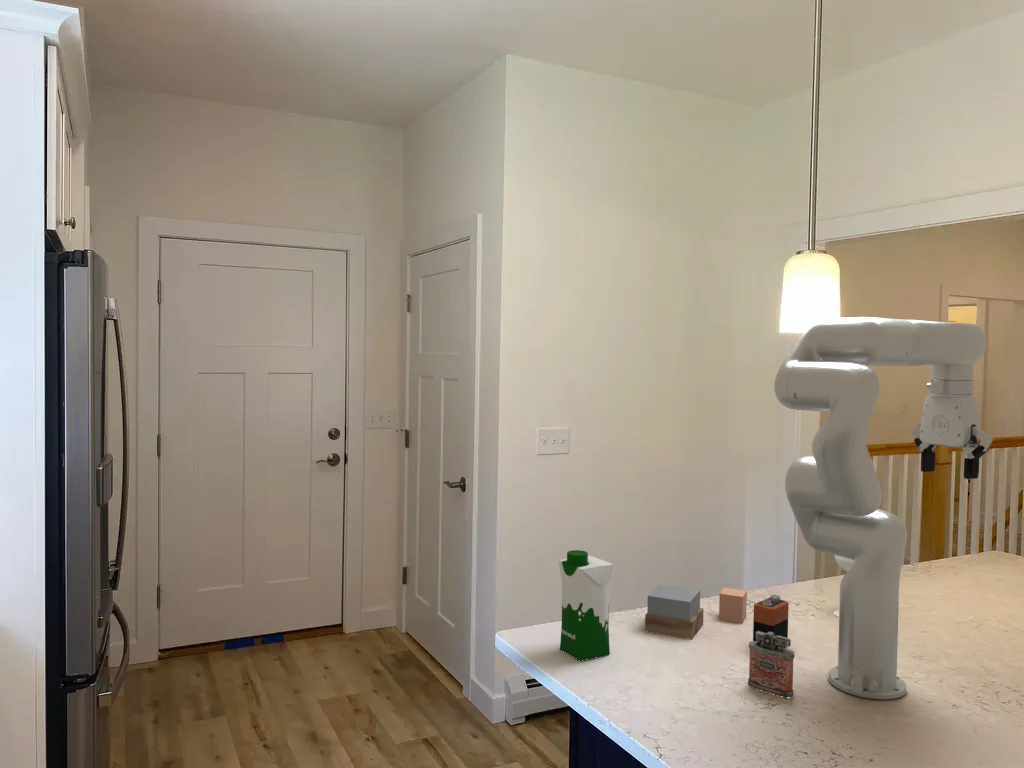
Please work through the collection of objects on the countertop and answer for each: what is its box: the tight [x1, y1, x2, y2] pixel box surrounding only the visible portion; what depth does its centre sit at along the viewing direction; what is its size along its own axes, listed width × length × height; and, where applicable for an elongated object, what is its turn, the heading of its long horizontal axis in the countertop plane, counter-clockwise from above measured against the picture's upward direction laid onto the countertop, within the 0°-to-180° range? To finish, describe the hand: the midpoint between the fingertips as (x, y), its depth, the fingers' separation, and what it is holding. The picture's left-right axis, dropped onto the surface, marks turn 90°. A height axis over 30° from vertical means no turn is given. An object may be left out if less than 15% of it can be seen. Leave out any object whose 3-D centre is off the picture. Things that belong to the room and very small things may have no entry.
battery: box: [752, 594, 790, 648], centre depth 157 cm, size 4×7×10 cm, turn 134°
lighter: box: [747, 631, 796, 698], centre depth 137 cm, size 8×3×10 cm, turn 47°
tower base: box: [644, 607, 704, 640], centre depth 168 cm, size 10×10×4 cm
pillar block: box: [718, 587, 748, 625], centre depth 174 cm, size 5×5×6 cm
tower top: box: [646, 584, 701, 621], centre depth 167 cm, size 9×9×4 cm
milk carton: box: [558, 549, 614, 662], centre depth 153 cm, size 9×9×20 cm
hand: (948, 474), depth 156 cm, fingers open, 9 cm apart
